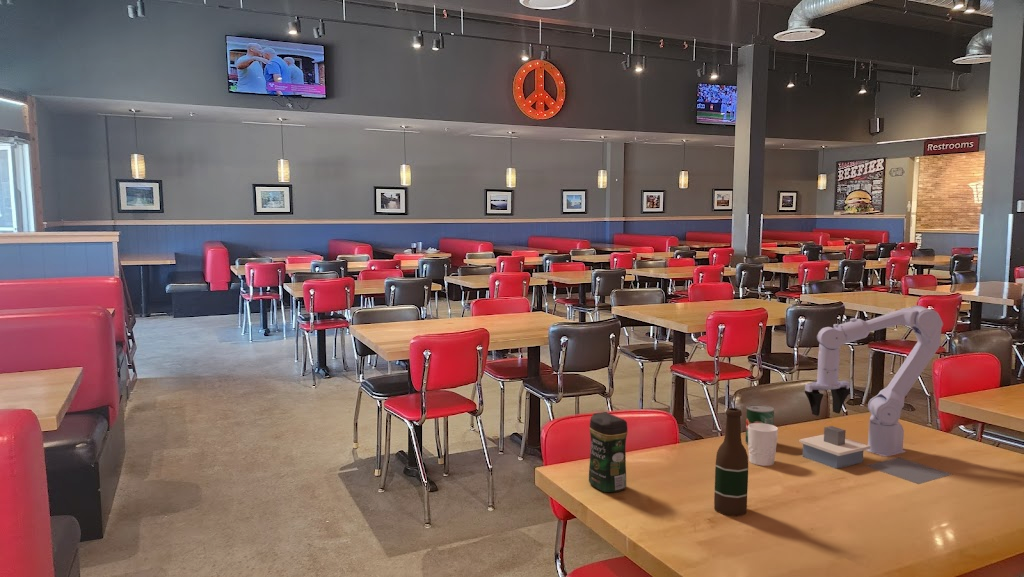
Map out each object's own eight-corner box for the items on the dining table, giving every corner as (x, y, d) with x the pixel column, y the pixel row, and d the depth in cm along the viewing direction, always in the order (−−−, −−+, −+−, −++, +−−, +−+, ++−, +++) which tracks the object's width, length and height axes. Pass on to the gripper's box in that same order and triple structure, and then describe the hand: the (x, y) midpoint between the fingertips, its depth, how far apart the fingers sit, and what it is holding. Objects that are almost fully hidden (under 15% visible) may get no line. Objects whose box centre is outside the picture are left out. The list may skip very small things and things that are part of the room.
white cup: (772, 457, 200) (773, 423, 199) (779, 467, 192) (781, 431, 191) (743, 456, 201) (745, 422, 200) (750, 466, 193) (751, 430, 192)
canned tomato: (775, 442, 214) (777, 407, 213) (768, 449, 207) (770, 413, 206) (749, 437, 218) (750, 403, 217) (741, 444, 212) (743, 408, 211)
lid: (829, 435, 206) (830, 419, 205) (870, 448, 194) (871, 431, 194) (798, 442, 200) (799, 425, 199) (839, 456, 188) (840, 438, 188)
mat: (898, 458, 200) (898, 457, 200) (952, 475, 187) (952, 474, 187) (864, 467, 193) (864, 465, 193) (918, 485, 180) (918, 484, 180)
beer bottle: (707, 503, 168) (711, 405, 165) (739, 502, 168) (743, 404, 166) (720, 517, 160) (724, 414, 157) (753, 516, 160) (757, 413, 158)
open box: (828, 452, 205) (829, 436, 205) (862, 463, 196) (863, 447, 195) (802, 457, 200) (803, 442, 200) (836, 470, 190) (837, 454, 190)
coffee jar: (583, 482, 180) (584, 412, 179) (608, 477, 184) (610, 408, 182) (605, 496, 172) (606, 421, 170) (631, 490, 176) (633, 417, 174)
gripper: (818, 372, 200) (815, 419, 202) (858, 369, 205) (856, 415, 206) (800, 367, 207) (798, 413, 208) (840, 364, 211) (838, 409, 213)
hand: (826, 413), depth 208 cm, fingers open, 7 cm apart
